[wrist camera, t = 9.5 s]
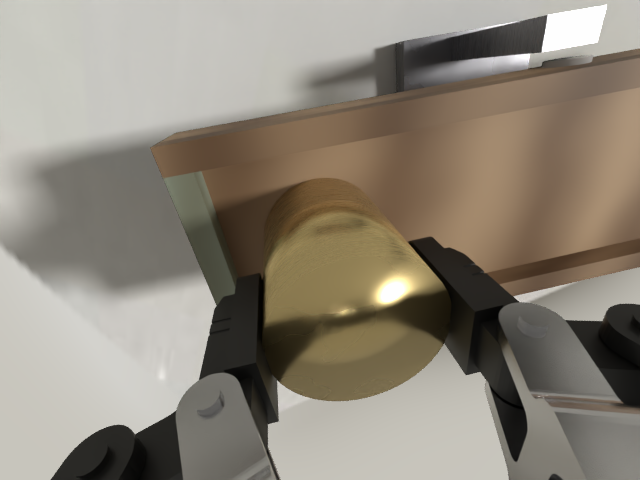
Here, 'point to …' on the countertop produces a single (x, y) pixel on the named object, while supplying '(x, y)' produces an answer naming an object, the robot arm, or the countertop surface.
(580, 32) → the pivot stand
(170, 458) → the robot arm
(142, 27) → the countertop surface
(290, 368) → the cylinder
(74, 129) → the countertop surface
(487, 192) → the beam
